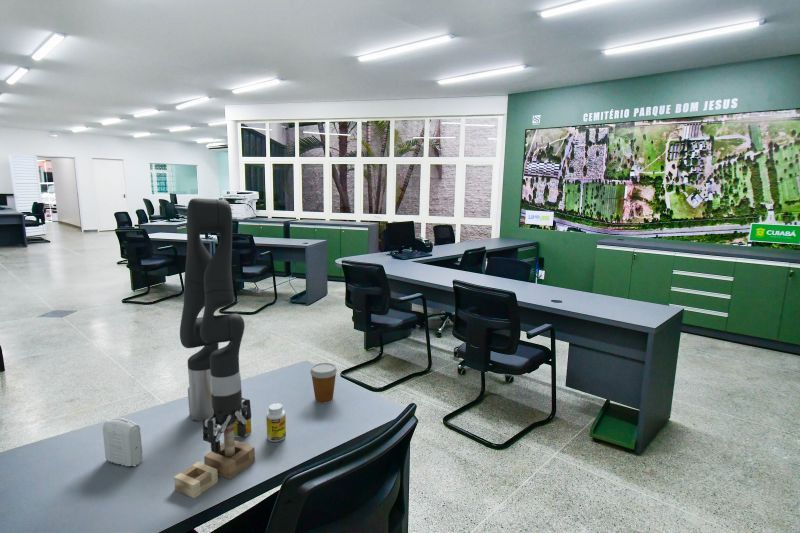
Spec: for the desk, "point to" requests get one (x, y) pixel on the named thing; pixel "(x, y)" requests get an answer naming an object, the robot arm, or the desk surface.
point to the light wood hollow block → (195, 479)
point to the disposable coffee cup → (323, 381)
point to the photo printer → (122, 441)
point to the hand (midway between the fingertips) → (229, 444)
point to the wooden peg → (229, 441)
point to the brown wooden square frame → (231, 460)
